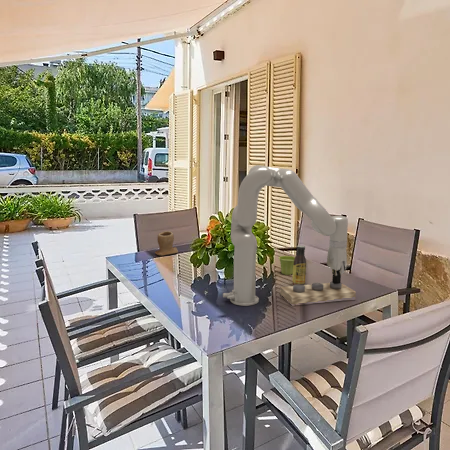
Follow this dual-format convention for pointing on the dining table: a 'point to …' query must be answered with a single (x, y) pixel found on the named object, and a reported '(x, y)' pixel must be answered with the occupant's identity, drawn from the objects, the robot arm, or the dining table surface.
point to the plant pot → (286, 264)
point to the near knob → (298, 288)
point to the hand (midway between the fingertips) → (336, 283)
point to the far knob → (335, 285)
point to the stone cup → (166, 243)
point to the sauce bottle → (299, 267)
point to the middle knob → (317, 286)
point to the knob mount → (316, 294)
